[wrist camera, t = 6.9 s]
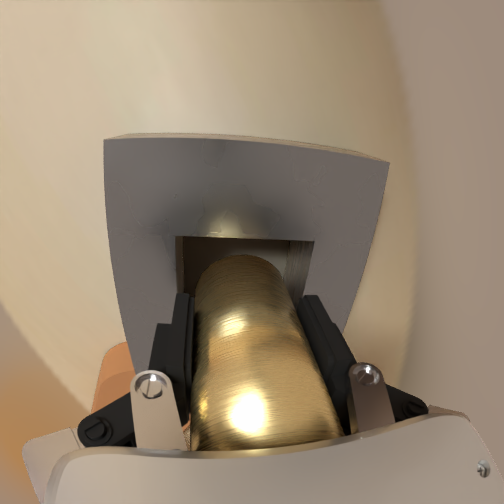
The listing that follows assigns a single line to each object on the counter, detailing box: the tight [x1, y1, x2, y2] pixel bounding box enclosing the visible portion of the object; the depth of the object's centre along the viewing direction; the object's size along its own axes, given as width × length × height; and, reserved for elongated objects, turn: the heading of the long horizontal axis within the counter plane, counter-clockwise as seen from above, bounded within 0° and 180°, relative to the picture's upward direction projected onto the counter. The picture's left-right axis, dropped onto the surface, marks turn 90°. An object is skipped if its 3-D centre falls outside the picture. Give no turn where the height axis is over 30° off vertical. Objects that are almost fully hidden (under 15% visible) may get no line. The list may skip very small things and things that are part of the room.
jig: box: [104, 133, 390, 375], centre depth 15 cm, size 14×12×4 cm
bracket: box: [91, 342, 190, 431], centre depth 19 cm, size 18×8×7 cm, turn 150°
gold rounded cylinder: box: [190, 255, 345, 451], centre depth 10 cm, size 4×4×9 cm
